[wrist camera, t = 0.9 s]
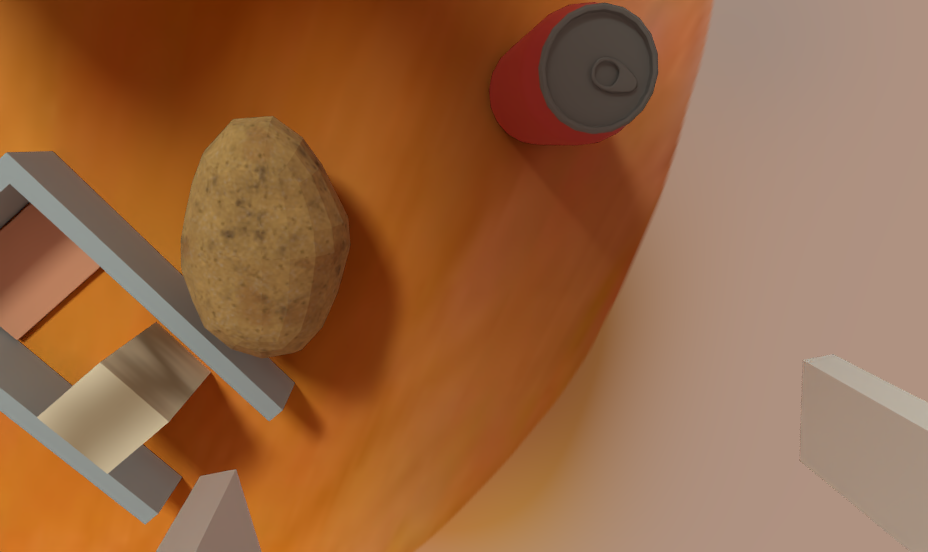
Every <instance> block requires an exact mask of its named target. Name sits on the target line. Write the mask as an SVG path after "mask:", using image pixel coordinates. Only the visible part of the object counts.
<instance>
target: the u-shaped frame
mask: <svg viewBox="0 0 928 552" xmlns="http://www.w3.org/2000/svg"><path fill="white" fill-rule="evenodd" d="M29 202H30V203H31V204H30V205H28V206H27V207H26V208H25V209H24V210H23V211H22V212H21V213H20V214H19V215H18V216H16V217H15V218H14V219H13V220H12V221H11V222H10V223H9V224H8V225H7V226H5V227H4V228H3V229H2V230H1V231H0V411H1V412H2V413H4V414H5V415H6V416H8V417H9V418H10V419H11V420H13V421H14V422H15V423H16V424H18V425H19V426H20V427H22V428H23V429H24V430H25V431H27V432H28V433H29V434H31V435H32V436H33V437H34V438H36V439H37V440H38V441H39V442H41V443H42V444H43V445H45V446H46V447H47V448H48V449H50V450H51V451H52V452H53V453H55V454H56V455H57V456H59V457H60V458H61V459H62V460H64V461H65V462H66V463H67V464H69V465H70V466H71V467H73V468H74V469H75V470H76V471H78V472H79V473H80V474H81V475H83V476H84V477H85V478H87V479H88V480H89V481H90V482H92V483H93V484H94V485H95V486H97V487H98V488H99V489H101V490H102V491H103V492H104V493H106V494H107V495H108V496H110V497H111V498H112V499H113V500H115V501H116V502H117V503H118V504H120V505H121V506H122V507H124V508H125V509H126V510H127V511H129V512H130V513H131V514H132V515H134V516H135V517H136V518H138V519H139V520H140V521H141V522H143V523H144V524H146V523H147V522H149V521H150V520H151V519H152V518H153V517H155V516H156V515H157V514H158V513H159V512H160V510H161V509H162V507H163V506H164V504H165V503H166V501H167V500H168V498H169V496H170V495H171V493H172V492H173V490H174V489H175V487H176V486H177V484H178V483H179V481H180V480H181V478H182V477H181V476H180V475H179V474H178V473H176V472H175V471H174V470H173V469H172V468H170V467H169V466H168V465H167V464H166V463H164V462H163V461H162V460H161V459H160V458H158V457H157V456H156V455H155V454H154V453H152V452H151V451H150V450H149V449H148V448H146V447H145V446H144V445H143V444H142V445H141V446H140V447H139V448H138V449H136V450H135V451H134V452H133V453H132V454H130V455H129V456H128V457H127V458H126V459H125V460H123V461H122V462H121V463H120V464H119V465H117V466H116V467H115V468H114V469H113V470H112V471H110V472H109V473H108V474H107V473H105V472H104V471H103V470H102V469H100V468H99V467H98V466H97V465H95V464H94V463H93V462H92V461H90V460H89V459H88V458H87V457H85V456H84V455H83V454H82V453H80V452H79V451H78V450H77V449H75V448H74V447H73V446H72V445H70V444H69V443H68V442H67V441H65V440H64V439H63V438H62V437H60V436H59V435H58V434H57V433H55V432H54V431H53V430H52V429H50V428H49V427H48V426H47V425H45V424H44V423H43V422H42V421H40V420H39V419H38V418H37V417H38V416H39V415H40V414H41V413H42V412H44V411H45V410H46V409H47V408H48V407H49V406H50V405H52V404H53V403H54V402H55V401H56V400H57V399H59V398H60V397H61V396H62V395H63V394H64V393H65V392H67V391H68V390H69V389H70V388H71V387H72V385H71V384H70V383H68V382H67V381H66V380H65V379H64V378H62V377H61V376H60V375H59V374H58V373H56V372H55V371H54V370H53V369H52V368H50V367H49V366H48V365H47V364H46V363H44V362H43V361H42V360H41V359H40V358H38V357H37V356H36V355H35V354H34V353H32V352H31V351H30V350H29V349H27V348H26V347H25V346H24V345H23V344H21V343H20V342H19V341H18V340H19V339H20V338H22V337H23V336H24V335H25V334H26V333H27V332H28V331H29V330H31V329H32V328H33V327H34V326H35V325H36V324H37V323H38V322H40V321H41V320H42V319H43V318H44V317H45V316H46V315H47V314H49V313H50V312H51V311H52V310H53V309H54V308H55V307H56V306H58V305H59V304H60V303H61V302H62V301H63V300H64V299H65V298H67V297H68V296H69V295H70V294H71V293H72V292H73V291H74V290H76V289H77V288H78V287H79V286H80V285H81V284H82V283H83V282H85V281H86V280H87V279H88V278H89V277H90V276H91V275H92V274H94V273H95V272H96V271H97V270H98V269H99V268H100V267H101V268H102V269H103V270H105V271H106V272H107V273H108V274H109V275H110V276H111V277H112V278H113V279H114V280H115V281H117V282H118V283H119V284H120V285H121V286H122V287H123V288H124V289H125V290H126V291H127V292H129V293H130V294H131V295H132V296H133V297H134V298H135V299H136V300H137V301H138V302H139V303H141V304H142V305H143V306H144V307H145V308H146V309H147V310H148V311H149V312H150V313H151V314H153V315H154V316H155V317H156V318H157V319H158V320H159V321H160V322H161V323H162V324H163V325H165V326H166V327H167V328H168V329H169V330H170V331H171V332H172V333H173V334H174V335H175V336H177V337H178V338H179V339H180V340H181V341H182V342H183V343H184V344H185V345H186V346H187V347H189V348H190V349H191V350H192V351H193V352H194V353H195V354H196V355H197V356H198V357H199V358H201V359H202V360H203V361H204V362H205V363H206V364H207V365H208V366H209V367H210V368H211V369H213V370H214V371H215V372H216V373H217V374H218V375H219V376H220V377H221V378H222V379H223V380H225V381H226V382H227V383H228V384H229V385H230V386H231V387H232V388H233V389H234V390H235V391H237V392H238V393H239V394H240V395H241V396H242V397H243V398H244V399H245V400H246V401H247V402H249V403H250V404H251V405H252V406H253V407H254V408H255V409H256V410H257V411H258V412H259V413H261V414H262V415H263V416H264V417H265V418H266V419H267V420H268V421H270V420H271V419H273V418H274V417H275V416H276V415H277V414H279V413H280V412H281V411H282V410H283V408H284V406H285V404H286V402H287V400H288V397H289V395H290V393H291V391H292V389H293V387H294V384H295V383H294V382H293V381H292V380H291V379H290V378H289V377H288V376H287V375H286V374H285V373H284V372H283V371H282V370H281V369H280V368H279V367H277V366H276V365H275V364H274V363H273V362H272V361H271V360H270V359H269V358H259V357H256V356H252V355H249V354H246V353H243V352H239V351H236V350H233V349H231V348H229V347H228V346H227V345H226V344H224V343H223V342H222V341H221V340H219V339H218V338H217V337H216V336H214V335H213V334H212V333H211V332H209V331H208V330H207V329H206V328H204V325H203V323H202V321H201V319H200V317H199V314H198V312H197V310H196V308H195V306H194V303H193V301H192V298H191V296H190V293H189V290H188V287H187V284H186V281H185V279H184V276H182V275H181V274H180V273H179V272H178V271H177V270H176V269H175V268H174V267H173V266H172V265H171V264H170V263H169V262H168V261H167V260H166V259H165V258H164V257H163V256H162V255H161V254H160V253H158V252H157V251H156V250H155V249H154V248H153V247H152V246H151V245H150V244H149V243H148V242H147V241H146V240H145V239H144V238H143V237H142V236H141V235H140V234H139V233H138V232H137V231H135V230H134V229H133V228H132V227H131V226H130V225H129V224H128V223H127V222H126V221H125V220H124V219H123V218H122V217H121V216H120V215H119V214H118V213H117V212H116V211H115V210H114V209H113V208H111V207H110V206H109V205H108V204H107V203H106V202H105V201H104V200H103V199H102V198H101V197H100V196H99V195H98V194H97V193H96V192H95V191H94V190H93V189H92V188H91V187H90V186H89V185H87V184H86V183H85V182H84V181H83V180H82V179H81V178H80V177H79V176H78V175H77V174H76V173H75V172H74V171H73V170H72V169H71V168H70V167H69V166H68V165H67V164H66V163H64V162H63V161H62V160H61V159H60V158H59V157H58V156H57V155H56V154H55V153H54V152H53V151H45V152H7V153H5V154H4V155H3V156H2V157H1V158H0V229H1V228H2V227H3V226H4V225H5V224H6V223H7V222H8V221H9V220H10V219H12V218H13V217H14V216H15V215H16V214H17V213H18V212H19V211H20V210H21V209H23V208H24V207H25V206H26V205H27V204H28V203H29Z"/></svg>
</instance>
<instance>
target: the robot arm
mask: <svg viewBox="0 0 928 552" xmlns="http://www.w3.org/2000/svg"><path fill="white" fill-rule="evenodd" d="M800 461H801V462H802V463H803V464H804V465H805V466H807V467H808V468H809V469H810V470H812V471H813V472H814V473H815V474H817V475H818V476H819V477H820V478H821V479H822V480H824V481H825V482H826V483H827V484H829V485H830V486H831V487H832V488H833V489H835V490H836V491H837V492H838V493H839V494H841V495H842V496H843V497H844V498H846V499H847V500H848V501H849V502H850V503H852V504H853V505H854V506H855V507H857V508H858V509H859V510H860V511H861V512H863V513H864V514H865V515H866V516H867V517H869V518H870V519H871V520H872V521H873V522H875V523H876V524H877V525H878V526H880V527H881V528H882V529H883V530H884V531H886V532H887V533H888V534H889V535H891V536H892V537H893V538H894V539H895V540H897V541H898V542H899V543H900V544H901V545H903V546H904V547H905V548H906V549H907V550H909V551H910V552H928V403H927V402H926V401H924V400H922V399H920V398H918V397H916V396H914V395H912V394H910V393H908V392H906V391H904V390H902V389H900V388H898V387H896V386H894V385H892V384H890V383H889V382H887V381H884V380H882V379H881V378H879V377H877V376H875V375H873V374H871V373H869V372H867V371H865V370H863V369H861V368H859V367H857V366H855V365H853V364H851V363H850V362H848V361H846V360H844V359H842V358H840V357H838V356H836V355H834V354H832V355H826V356H822V357H816V358H811V359H805V360H803V369H802V400H801V430H800ZM156 552H261V549H260V546H259V542H258V539H257V536H256V533H255V529H254V526H253V523H252V520H251V516H250V513H249V510H248V507H247V503H246V500H245V497H244V494H243V490H242V487H241V484H240V480H239V477H238V474H237V471H236V469H234V470H229V471H224V472H219V473H213V474H208V475H203V476H200V477H199V479H198V481H197V482H196V484H195V486H194V487H193V489H192V491H191V493H190V494H189V496H188V498H187V499H186V501H185V503H184V505H183V506H182V508H181V510H180V511H179V513H178V515H177V517H176V518H175V520H174V522H173V523H172V525H171V527H170V529H169V530H168V532H167V534H166V535H165V537H164V539H163V541H162V542H161V544H160V546H159V547H158V549H157V551H156Z"/></svg>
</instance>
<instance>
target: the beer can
mask: <svg viewBox="0 0 928 552" xmlns="http://www.w3.org/2000/svg"><path fill="white" fill-rule="evenodd" d="M657 76H658V53H657V50H656V47H655V44H654V41H653V38H652V35H651V33H650V32H649V30H648V29H647V28H646V26H645V25H644V23H643V22H642V21H641V19H640V18H639V17H637V16H636V15H634V14H633V13H631V12H630V11H628V10H627V9H625V8H624V7H620V6H616V5H612V4H608V3H595V2H591V3H581V4H572V5H567V6H565V7H563V8H561V9H559V10H557V11H555V12H553V13H551V14H549V15H548V16H547V17H546V18H545V19H543V20H542V21H541V22H540V23H539V24H538V25H537V26H535V27H534V28H533V29H532V30H531V31H530V32H529V33H528V34H526V35H525V36H524V37H523V38H522V39H521V40H520V41H519V42H517V43H516V44H515V45H514V46H513V47H512V48H511V49H510V50H509V51H508V52H507V53H506V54H505V55H504V56H503V57H502V58H501V59H500V60H499V62H498V64H497V66H496V68H495V70H494V71H493V73H492V78H491V83H490V88H489V95H490V104H491V109H492V111H493V113H494V116H495V118H496V120H497V122H498V123H499V125H500V126H501V127H502V128H503V129H504V130H505V131H506V133H507V134H509V135H510V136H512V137H514V138H516V139H517V140H519V141H521V142H525V143H530V144H535V145H583V144H591V143H598V142H600V141H602V140H604V139H606V138H608V137H610V136H612V135H614V134H616V133H618V132H619V131H621V130H622V129H623V128H624V127H625V126H626V125H627V124H629V123H630V122H631V121H632V120H633V119H634V118H635V117H636V116H637V115H638V114H639V113H640V112H642V111H643V109H644V108H645V106H646V104H647V102H648V101H649V99H650V97H651V96H652V94H653V91H654V87H655V83H656V79H657Z"/></svg>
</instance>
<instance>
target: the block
mask: <svg viewBox="0 0 928 552" xmlns="http://www.w3.org/2000/svg"><path fill="white" fill-rule="evenodd" d="M210 373H211V372H210V371H209V370H208V369H207V368H206V367H205V366H204V365H203V364H202V363H201V362H199V361H198V360H197V359H196V358H195V357H194V356H193V355H192V354H191V353H190V352H189V351H187V350H186V349H185V348H184V347H183V346H182V345H181V344H180V343H179V342H178V341H176V340H175V339H174V338H173V337H172V336H171V335H170V334H169V333H168V332H167V331H166V330H164V329H163V328H162V327H161V326H160V325H159V324H158V323H157V322H155V323H154V324H153V325H151V326H150V327H148V328H147V329H146V330H144V331H143V332H142V333H140V334H139V335H137V336H136V337H135V338H133V339H132V340H130V341H129V342H128V343H126V344H125V345H123V346H122V347H121V348H119V349H118V350H117V351H115V352H114V353H112V354H111V355H110V356H108V357H107V358H105V359H104V360H103V361H101V362H100V363H99V364H98V365H96V366H95V367H94V368H93V369H92V370H91V371H90V372H88V373H87V374H86V375H85V376H84V377H83V378H82V379H80V380H79V381H78V382H77V383H76V384H75V385H73V386H72V387H71V388H70V389H69V390H68V391H67V392H65V393H64V394H63V395H62V396H61V397H60V398H59V399H57V400H56V401H55V402H54V403H53V404H52V405H50V406H49V407H48V408H47V409H46V410H45V411H44V412H42V413H41V414H40V415H39V416H38V417H37V418H38V419H39V420H40V421H42V422H43V423H44V424H45V425H47V426H48V427H49V428H50V429H52V430H53V431H54V432H55V433H57V434H58V435H59V436H60V437H62V438H63V439H64V440H65V441H67V442H68V443H69V444H70V445H72V446H73V447H74V448H75V449H77V450H78V451H79V452H80V453H82V454H83V455H84V456H85V457H87V458H88V459H89V460H90V461H92V462H93V463H94V464H95V465H97V466H98V467H99V468H100V469H102V470H103V471H104V472H105V473H107V474H108V473H109V472H110V471H112V470H113V469H114V468H115V467H116V466H117V465H119V464H120V463H121V462H122V461H123V460H125V459H126V458H127V457H128V456H129V455H130V454H132V453H133V452H134V451H135V450H136V449H138V448H139V447H140V446H141V445H142V444H143V443H145V442H146V441H147V440H148V439H149V438H151V437H152V436H153V435H154V434H155V433H156V432H158V431H159V430H160V429H161V428H162V427H164V426H165V425H166V424H167V423H168V422H169V421H170V420H171V419H172V418H173V417H174V415H175V414H176V413H177V412H178V411H179V409H180V408H181V407H182V406H183V405H184V404H185V402H186V401H187V400H188V399H189V398H190V396H191V395H192V394H193V393H194V392H195V391H196V389H197V388H198V387H199V386H200V385H201V383H202V382H203V381H204V380H205V379H206V377H207V376H208V375H209V374H210Z"/></svg>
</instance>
